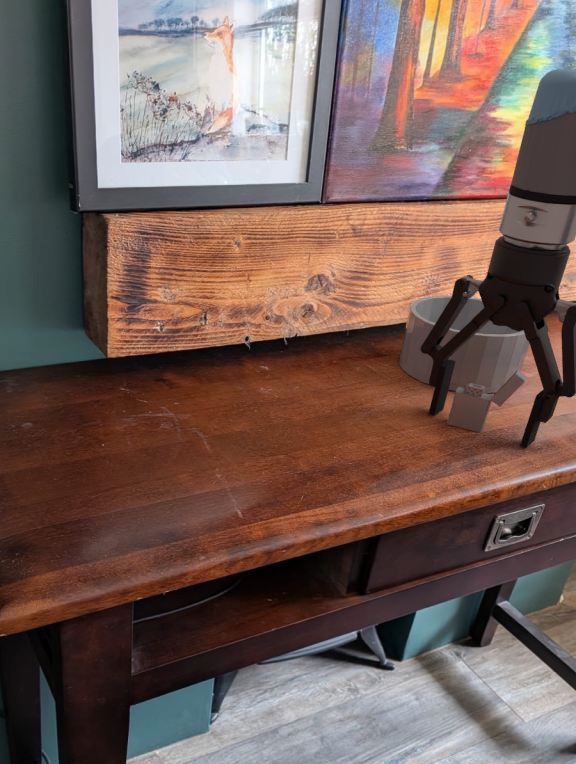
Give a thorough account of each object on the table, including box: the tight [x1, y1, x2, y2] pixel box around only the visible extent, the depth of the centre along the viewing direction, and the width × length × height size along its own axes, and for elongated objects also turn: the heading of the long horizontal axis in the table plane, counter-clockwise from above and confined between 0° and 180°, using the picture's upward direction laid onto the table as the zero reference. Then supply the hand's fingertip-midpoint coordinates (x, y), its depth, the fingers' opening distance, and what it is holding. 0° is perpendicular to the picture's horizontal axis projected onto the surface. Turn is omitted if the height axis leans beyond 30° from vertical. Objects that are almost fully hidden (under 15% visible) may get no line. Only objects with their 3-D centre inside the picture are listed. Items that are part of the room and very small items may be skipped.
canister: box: [398, 295, 530, 394], centre depth 104 cm, size 16×16×8 cm
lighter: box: [446, 370, 528, 433], centre depth 88 cm, size 7×2×8 cm, turn 61°
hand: (479, 427), depth 90 cm, fingers open, 11 cm apart
